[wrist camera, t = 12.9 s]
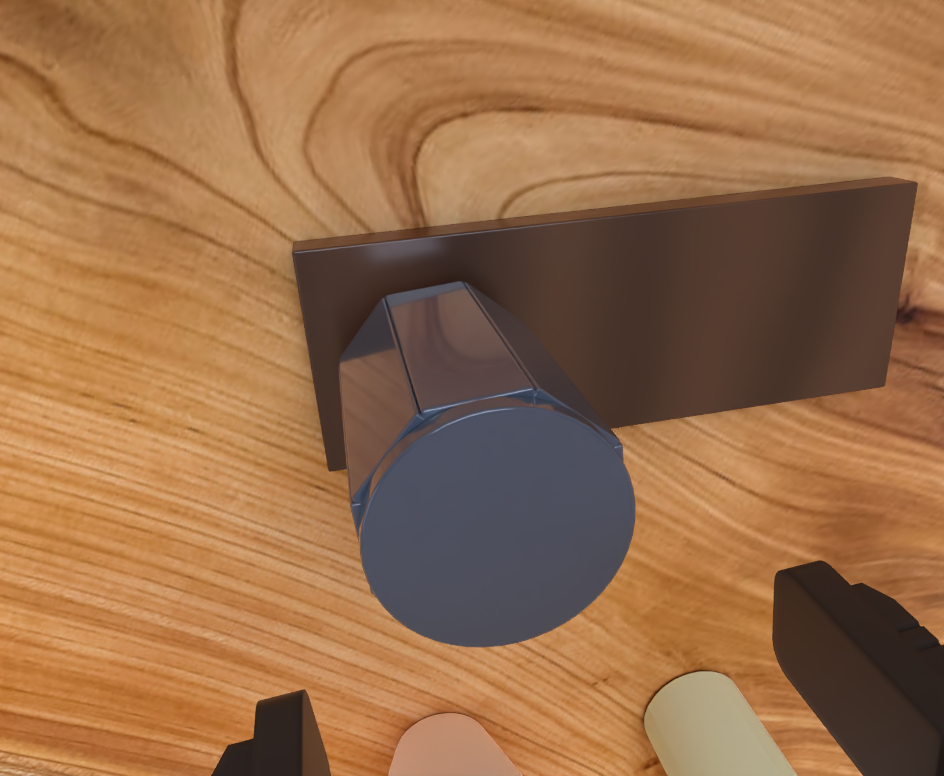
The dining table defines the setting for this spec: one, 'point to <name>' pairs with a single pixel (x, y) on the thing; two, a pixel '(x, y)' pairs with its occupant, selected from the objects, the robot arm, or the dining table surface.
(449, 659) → the dining table surface
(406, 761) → the mug
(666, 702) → the candle
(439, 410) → the cup
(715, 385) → the cup stand
